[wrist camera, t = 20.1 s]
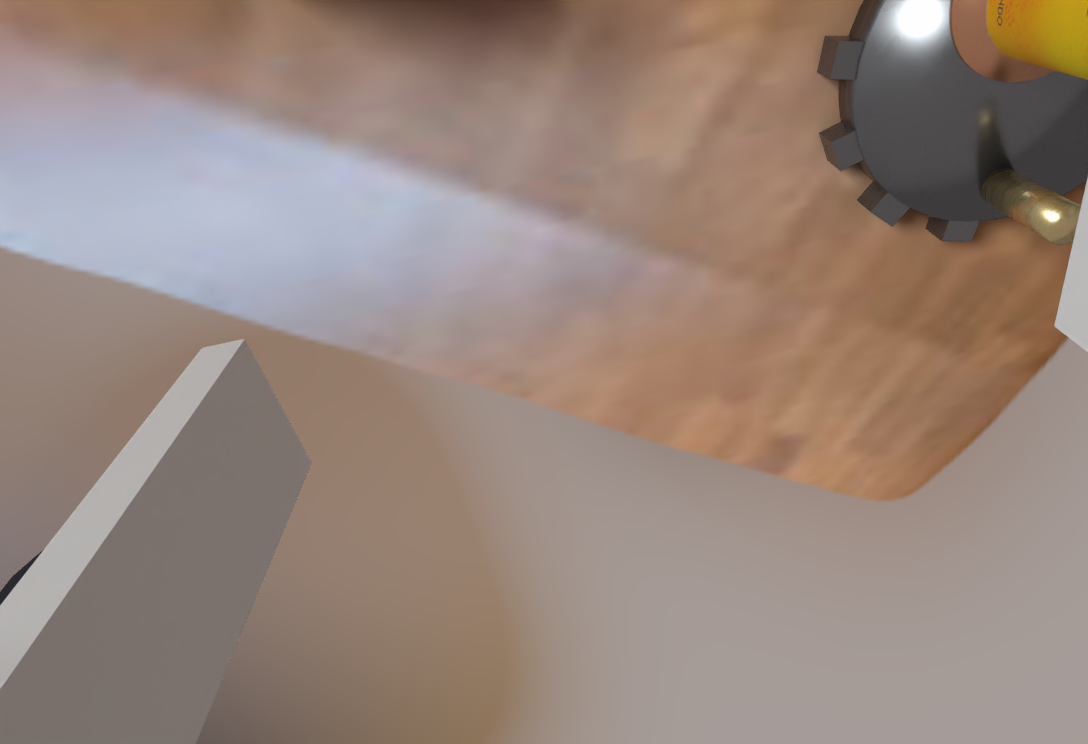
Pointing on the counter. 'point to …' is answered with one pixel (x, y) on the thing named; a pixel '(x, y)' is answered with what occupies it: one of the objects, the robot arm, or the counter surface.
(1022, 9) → the beer can
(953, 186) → the sprocket
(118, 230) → the counter surface
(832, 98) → the counter surface
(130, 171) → the counter surface
